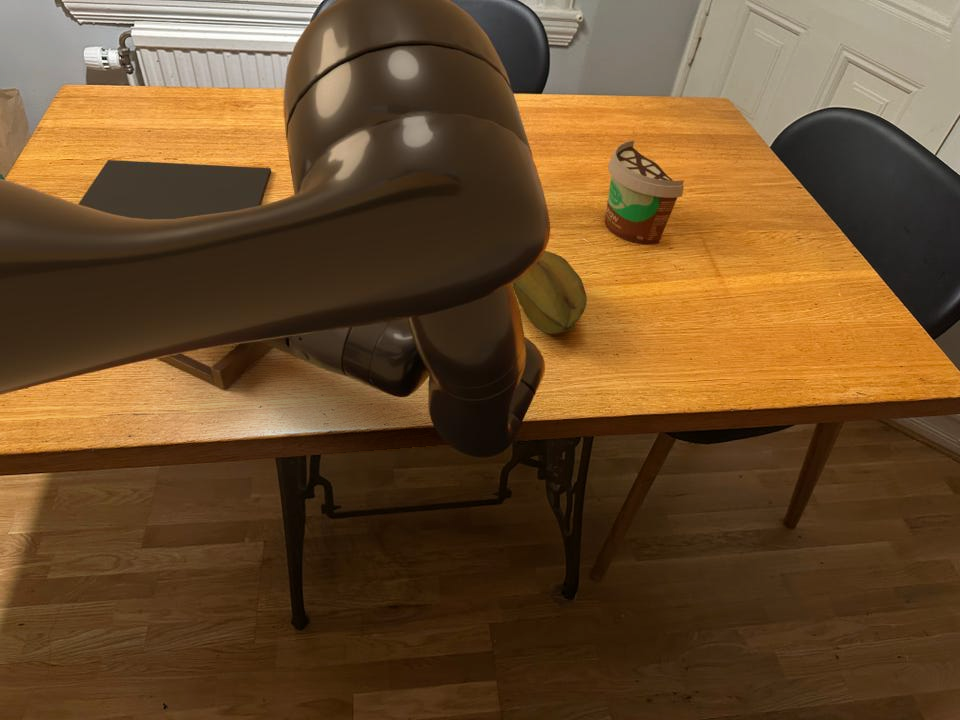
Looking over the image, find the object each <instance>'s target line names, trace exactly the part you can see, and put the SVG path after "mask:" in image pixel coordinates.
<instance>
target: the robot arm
mask: <svg viewBox="0 0 960 720" xmlns="http://www.w3.org/2000/svg"><path fill="white" fill-rule="evenodd" d="M282 100H283V101H282V104H283V105H282V107H283V109H282V111H283V119H284V129H285V138H286V147H287V154H288V159H289V160H288V161H289V167H290V174H291V180H292V188H293V195H290V196H288V197H285V198H281V199H280V200H279V199H278V200H276V201H271V202H268V203H264V204H261V205H260V206H257V207H252V208H247V209H242V210H237V211H232V212H224V213H216V214H209V215H201V216H194V217H186V218H179V219H158V220H148V219H138V218H129V217H124V216H119V215H114V214H110V213H106V212H103V211H99V210H96V209H92V208H89V207H85V206H82V205H79V203H76V202H73V201H69V200H67V199H64V198H61V197H58V196H55V195H53V194H49V193H46V192H43V191H41V190H38V189H35V188H32V187H29V186H26V185H22V184H20V183H16V182H14V181H11V180H10V181H9V180H6V179H2V178H0V396H3V395H6V394H10V393H12V392H13V393H14V392H17V391H21V390H24V389H28V388H32V387H36V386H41V385H45V384H49V383H53V382H58V381H62V380H66V379H70V378H75V377H80V376H83V375H88V374H93V373H97V372H101V371H106V370H109V369H114V368H117V367H121V366H126V365H131V364H137V363H140V362H145V361H150V360H157V359H158V358H161V357H166V356H171V355H176V354H185V353H186V354H187V353H192V352H196V351H202V350H207V349H214V348H221V347H222V348H223V347H226V346H234V345H238V344H241V343H248V342H255V341H262V342H263V343H265V344H267V345H270V346H272V348H273V349H276V350H279V351H281V352H283V353H285V354H287V355H290V356H292V357H295V358H296V359H299V360H302V361H304V362H306V363H309V365H313V366H315V367H317V368H319V369H322V370H325V371H328V372H331V373H334V374H339V375H341V376H344V377H347V378H350V379H352V380H354V381H356V382H359V383H361V384H363V385H364V386H365V385H366V386H368V387H370V388H372V389H374V390H377V391H378V392H382V393H384V394H386V395H389V396H391V397H395V398H399V399H400V398H408V397H410V396H411V395H413V394H414V393H415V392H417V391H418V390H419V389H420V387H421V386H423V384H424V383H425V382H426V381H428V382H427V383H428V385H427V387H428V388H427V389H428V390H427V392H428V393H427V407H428V408H427V409H428V413H429V414H428V415H429V418H430V421H431V424H432V425H433V428H434V429H435V431H436V432H437V434H438V435H439V437H441V438H442V440H443V441H444V442H446V444H448V445H449V446H450V447H451V448H452V449H454V450H456V451H458V452H460V453H461V454H464V455H467V456H469V457H473V458H484V459H485V458H491V457H496V456H498V455H500V454H501V453H503V452H505V451H506V450H507V449H508V448H509V447H510V446H511V445H512V443H513V442H514V440H515V439H516V436H517V434H518V433H519V430H520V428H521V426H522V423H523V421H524V420H525V417H526V415H527V413H528V410H529V409H530V407H531V404H532V402H533V400H534V398H535V396H536V393H537V391H538V390H539V387H540V386H541V383H542V381H543V378H544V376H545V372H546V361H545V359H544V356H543V355H542V352H541V351H540V349H539V348H538V347H537V345H536V344H535V343H534V342H532V341H531V340H530V339H529V338H528V337H526V336H525V333H524V326H523V321H522V315H521V310H520V307H519V303H518V298H517V296H516V293H515V291H514V288H513V284H512V283H514V282H516V281H517V280H518V279H520V278H521V277H522V276H524V275H525V274H526V273H528V272H529V271H530V270H531V269H532V268H533V267H534V265H535V264H536V263H537V262H538V260H539V259H540V258H541V256H542V255H543V254H544V252H545V251H546V249H547V246H548V244H549V241H550V234H551V222H550V215H549V208H548V205H547V200H546V197H545V192H544V189H543V186H542V182H541V179H540V176H539V172H538V169H537V165H536V163H535V161H534V158H533V157H534V156H533V152H532V148H531V145H530V142H529V139H528V136H527V133H526V129H525V126H524V123H523V120H522V117H521V114H520V110H519V107H518V104H517V101H516V98H515V94H514V91H513V89H512V85H511V82H510V78H509V76H508V73H507V70H506V68H505V65H504V63H503V61H502V60H501V58H500V56H499V54H498V53H497V51H496V49H495V47H494V44H493V43H492V41H491V40H490V38H489V36H488V35H487V33H486V32H485V31H484V30H483V28H482V27H481V26H480V25H479V24H478V23H477V22H476V21H475V19H474V18H473V17H472V16H471V15H470V14H469V13H467V12H466V10H464V9H462V8H461V7H459V6H458V5H457V4H456V3H455V2H453V1H451V0H338V1H335V2H334V3H333V4H331V5H329V6H328V7H326V8H325V9H323V10H322V11H321V12H320V13H319V14H317V16H315V18H314V19H312V21H311V22H309V23H308V24H307V26H305V29H304V30H303V32H302V34H301V35H300V36H299V38H298V40H297V41H296V42H295V44H294V47H293V49H292V53H291V55H290V58H289V60H288V63H287V65H286V72H285V80H284V88H283V99H282Z"/></svg>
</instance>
